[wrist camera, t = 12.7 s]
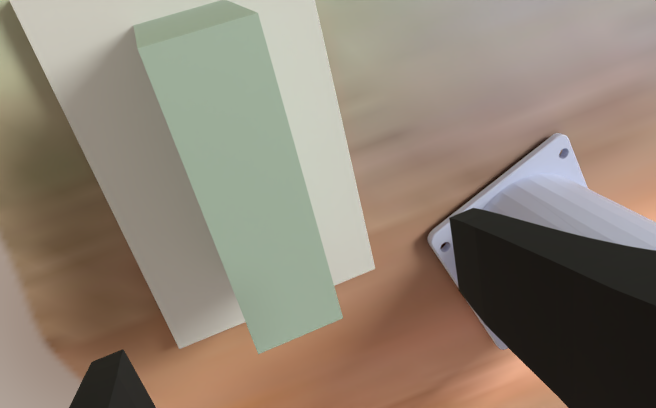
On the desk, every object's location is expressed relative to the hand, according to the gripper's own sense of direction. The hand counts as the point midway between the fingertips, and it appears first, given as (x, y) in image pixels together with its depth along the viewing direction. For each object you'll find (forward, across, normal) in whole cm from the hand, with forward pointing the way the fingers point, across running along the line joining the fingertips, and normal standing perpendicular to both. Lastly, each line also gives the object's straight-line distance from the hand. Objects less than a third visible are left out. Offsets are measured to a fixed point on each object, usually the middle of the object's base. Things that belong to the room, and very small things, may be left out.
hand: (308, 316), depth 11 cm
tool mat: (+10, 0, 0) cm, 10 cm away
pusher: (+10, 0, 0) cm, 10 cm away
